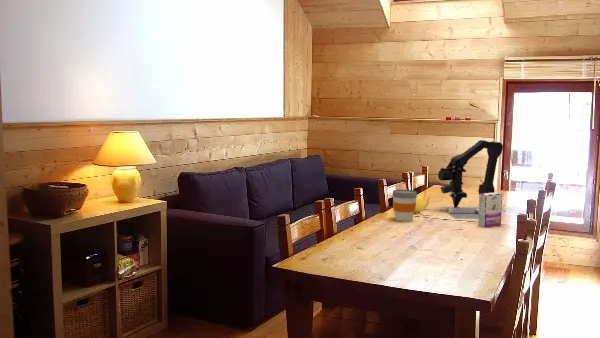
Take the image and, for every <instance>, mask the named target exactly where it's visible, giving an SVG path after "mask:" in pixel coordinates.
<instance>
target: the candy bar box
mask: <svg viewBox="0 0 600 338" xmlns="http://www.w3.org/2000/svg"><path fill="white" fill-rule="evenodd" d="M478 195H479V196H478V197H479V199H478V208H479V219H477V222H478V223H477V225H478V226H479V227H482V228H493V227H500V226H501V225H502V211H503V210H502V208H503V205H502V204H503V193H502V192H498V191H497V192H496V191H494V192H493V193H483V194H479V193H478Z"/></svg>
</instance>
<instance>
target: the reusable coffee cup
mask: <svg viewBox="0 0 600 338" xmlns="http://www.w3.org/2000/svg"><path fill="white" fill-rule="evenodd" d="M417 196H418V193H417V191H416V190H412V189H394V190H392V196H391V197H392V199H393V200H392V208H393V211H394V220H395V221H397V222H402V223H403V222H405V223H406V222H412V221H413V219H414V214H415V213H414V211H415V207H416V198H417Z"/></svg>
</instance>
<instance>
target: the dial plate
mask: <svg viewBox="0 0 600 338" xmlns="http://www.w3.org/2000/svg"><path fill="white" fill-rule="evenodd" d="M443 212H444V213H445V214H447V215H449V216H451V217H452V218H454V219H456V220H457V219H458V220H459V219H462V220H463V219H464V220H465V219H466V220H467V219H469V220H471V219H474V220H479V214H478V213H449V210H444V211H443Z"/></svg>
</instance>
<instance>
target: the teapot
mask: <svg viewBox="0 0 600 338" xmlns="http://www.w3.org/2000/svg"><path fill="white" fill-rule="evenodd" d="M431 197H432V195H429V196H427V197H426V199H425V201H424V199H423V197H422V196H421V195H417V198H416V207H415V211H414V214H421V213H422V212H423V211H425V209H426V208H427V207H428V206H429V202H430V201H429V200H430V198H431Z"/></svg>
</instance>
